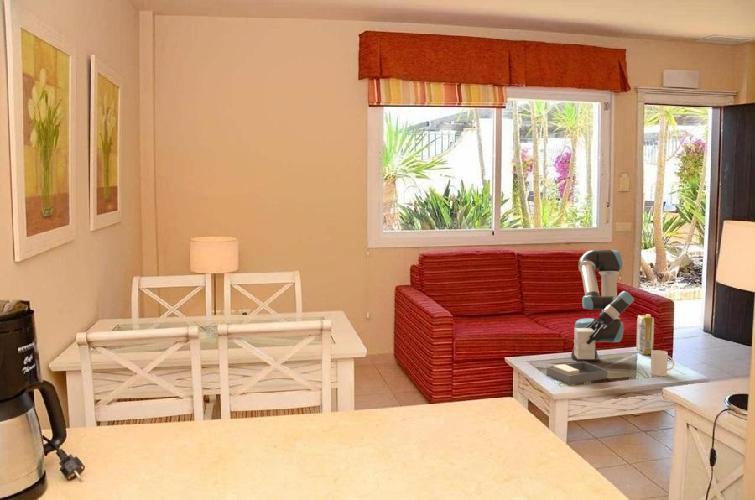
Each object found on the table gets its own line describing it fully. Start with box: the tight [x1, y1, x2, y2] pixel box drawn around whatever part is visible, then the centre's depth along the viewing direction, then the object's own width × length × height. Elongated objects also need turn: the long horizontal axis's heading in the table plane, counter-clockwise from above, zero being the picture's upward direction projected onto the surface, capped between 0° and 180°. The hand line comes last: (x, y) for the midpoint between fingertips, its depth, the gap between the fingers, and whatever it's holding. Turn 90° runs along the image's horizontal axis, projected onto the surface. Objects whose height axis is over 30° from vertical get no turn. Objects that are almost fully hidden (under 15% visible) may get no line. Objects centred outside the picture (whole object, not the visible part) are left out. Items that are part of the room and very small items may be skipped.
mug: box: [649, 349, 675, 377], centre depth 338 cm, size 12×8×12 cm
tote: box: [546, 361, 608, 385], centre depth 334 cm, size 18×25×5 cm
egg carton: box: [552, 363, 579, 375], centre depth 331 cm, size 12×7×6 cm, turn 23°
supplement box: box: [573, 327, 596, 359], centre depth 333 cm, size 9×9×15 cm
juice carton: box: [635, 313, 655, 356], centre depth 380 cm, size 9×8×24 cm
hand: (578, 345), depth 333 cm, fingers closed on supplement box, 9 cm apart
